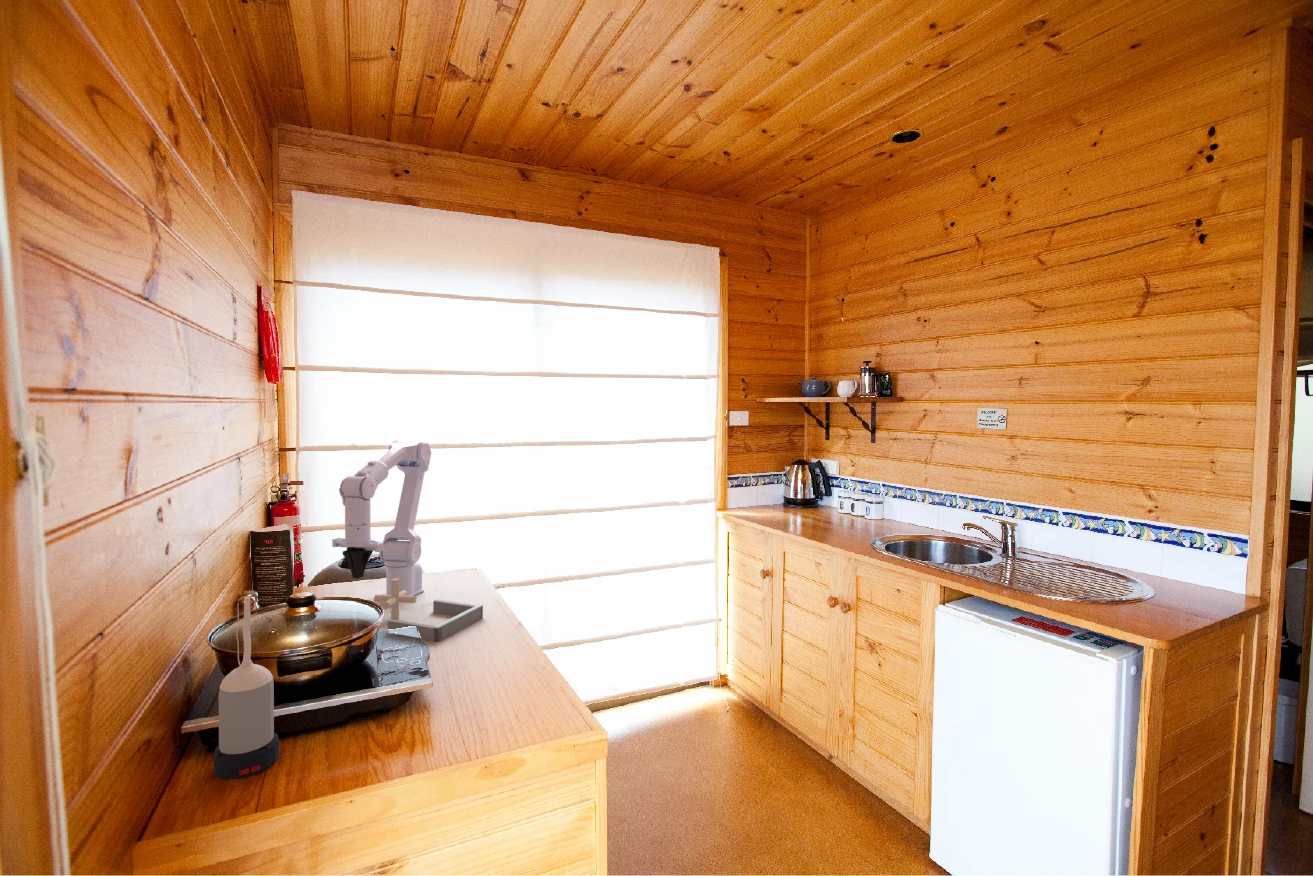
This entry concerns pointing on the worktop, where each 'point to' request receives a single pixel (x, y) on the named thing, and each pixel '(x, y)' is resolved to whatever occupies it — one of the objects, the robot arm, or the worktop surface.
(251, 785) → the worktop surface
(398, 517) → the robot arm
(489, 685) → the worktop surface
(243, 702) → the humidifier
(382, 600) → the pipe connector
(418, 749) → the worktop surface
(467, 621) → the frame
